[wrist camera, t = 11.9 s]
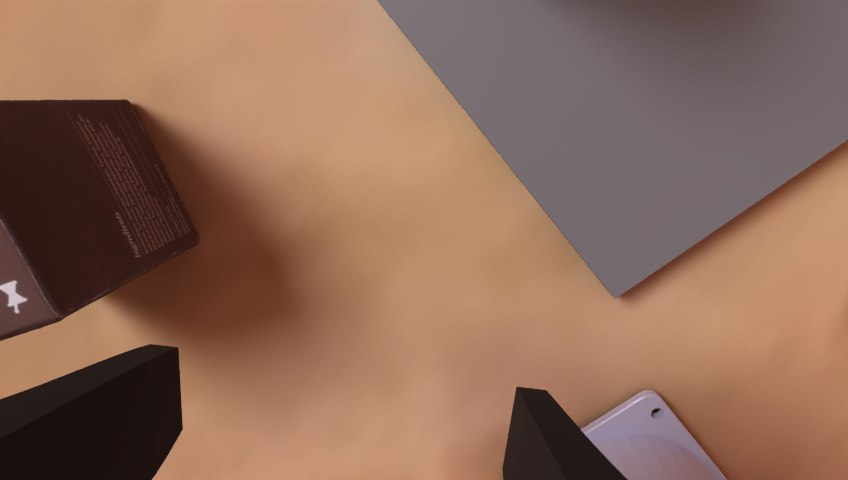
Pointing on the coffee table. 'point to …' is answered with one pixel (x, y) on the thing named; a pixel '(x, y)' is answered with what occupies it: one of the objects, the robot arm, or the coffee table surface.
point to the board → (642, 108)
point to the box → (78, 208)
